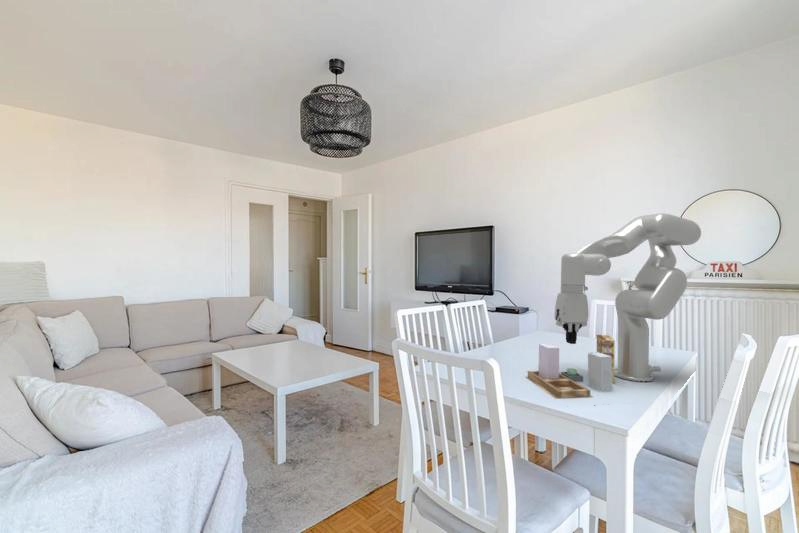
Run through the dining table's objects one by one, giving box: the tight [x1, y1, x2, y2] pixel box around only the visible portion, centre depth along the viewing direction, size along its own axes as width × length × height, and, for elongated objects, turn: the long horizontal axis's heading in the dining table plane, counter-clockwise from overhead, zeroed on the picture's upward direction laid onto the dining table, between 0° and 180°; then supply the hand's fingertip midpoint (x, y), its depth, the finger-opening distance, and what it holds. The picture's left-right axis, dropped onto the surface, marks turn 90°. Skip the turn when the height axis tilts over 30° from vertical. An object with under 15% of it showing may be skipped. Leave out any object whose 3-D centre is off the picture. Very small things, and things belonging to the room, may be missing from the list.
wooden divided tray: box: [525, 370, 594, 400], centre depth 119 cm, size 12×20×3 cm, turn 6°
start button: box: [566, 368, 578, 376], centre depth 126 cm, size 3×3×2 cm
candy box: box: [596, 334, 615, 385], centre depth 128 cm, size 9×4×15 cm, turn 162°
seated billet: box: [538, 343, 560, 379], centre depth 124 cm, size 4×6×12 cm, turn 6°
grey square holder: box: [560, 371, 584, 383], centre depth 126 cm, size 5×5×3 cm
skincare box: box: [587, 351, 613, 393], centre depth 117 cm, size 6×4×12 cm
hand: (571, 342), depth 126 cm, fingers closed
